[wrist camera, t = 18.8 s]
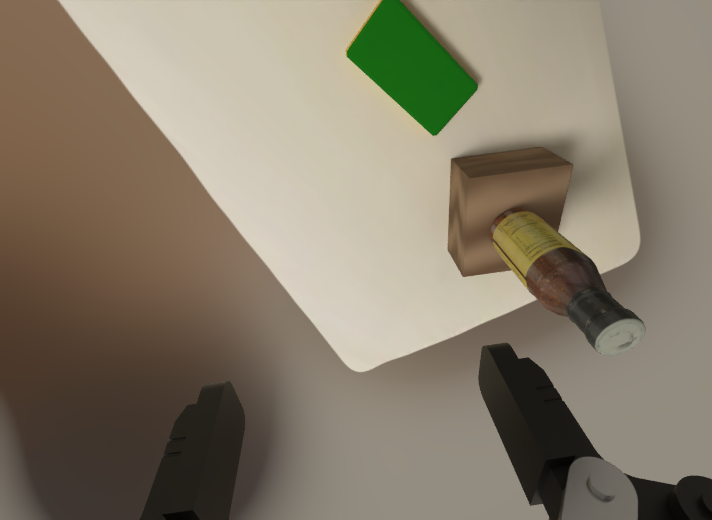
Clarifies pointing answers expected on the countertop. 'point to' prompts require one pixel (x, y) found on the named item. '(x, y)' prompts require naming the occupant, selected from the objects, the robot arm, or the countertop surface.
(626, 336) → the sauce bottle
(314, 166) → the countertop surface
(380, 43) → the dish sponge
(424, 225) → the countertop surface
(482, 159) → the walnut box
